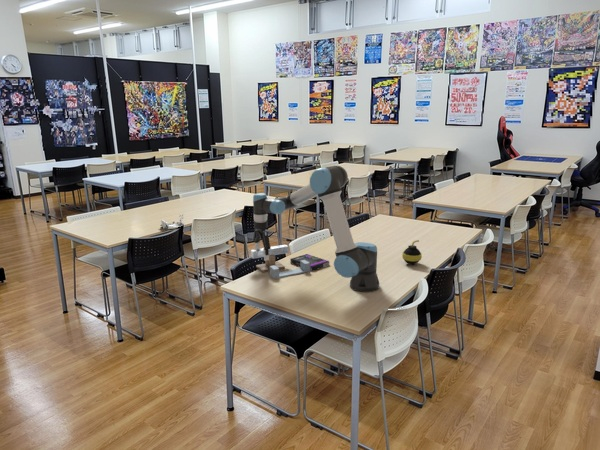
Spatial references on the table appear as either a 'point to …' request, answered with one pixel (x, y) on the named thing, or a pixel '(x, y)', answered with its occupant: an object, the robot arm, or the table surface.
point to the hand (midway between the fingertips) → (262, 256)
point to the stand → (269, 264)
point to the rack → (303, 269)
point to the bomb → (412, 254)
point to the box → (310, 261)
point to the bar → (270, 251)
